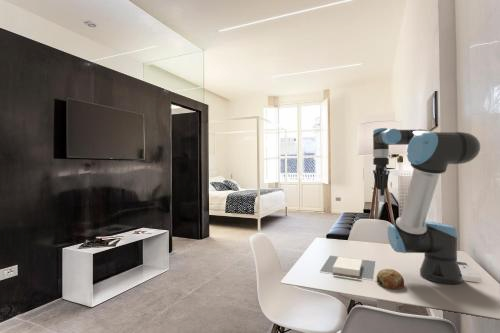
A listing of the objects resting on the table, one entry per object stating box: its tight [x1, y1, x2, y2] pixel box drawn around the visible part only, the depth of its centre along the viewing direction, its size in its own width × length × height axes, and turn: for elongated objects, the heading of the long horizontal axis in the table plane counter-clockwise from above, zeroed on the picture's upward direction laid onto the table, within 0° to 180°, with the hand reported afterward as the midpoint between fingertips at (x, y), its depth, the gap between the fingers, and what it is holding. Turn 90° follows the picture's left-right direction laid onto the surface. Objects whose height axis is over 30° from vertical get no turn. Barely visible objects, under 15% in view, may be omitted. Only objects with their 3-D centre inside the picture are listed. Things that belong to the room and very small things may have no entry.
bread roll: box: [376, 268, 405, 290], centre depth 115 cm, size 10×10×8 cm
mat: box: [319, 255, 376, 281], centre depth 135 cm, size 26×22×1 cm
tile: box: [332, 256, 363, 278], centre depth 130 cm, size 3×11×16 cm
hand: (381, 201), depth 152 cm, fingers closed
